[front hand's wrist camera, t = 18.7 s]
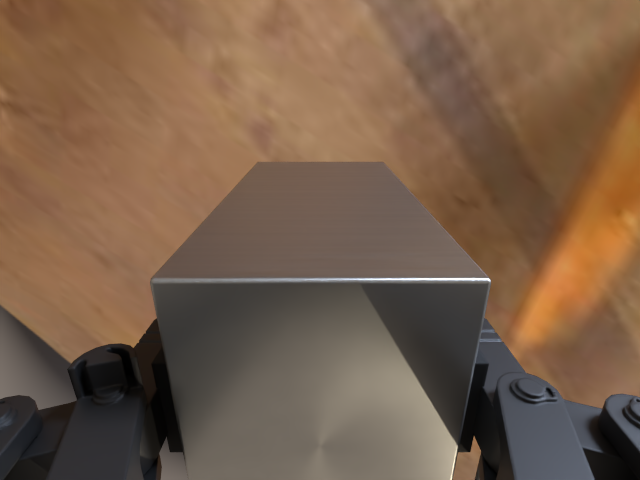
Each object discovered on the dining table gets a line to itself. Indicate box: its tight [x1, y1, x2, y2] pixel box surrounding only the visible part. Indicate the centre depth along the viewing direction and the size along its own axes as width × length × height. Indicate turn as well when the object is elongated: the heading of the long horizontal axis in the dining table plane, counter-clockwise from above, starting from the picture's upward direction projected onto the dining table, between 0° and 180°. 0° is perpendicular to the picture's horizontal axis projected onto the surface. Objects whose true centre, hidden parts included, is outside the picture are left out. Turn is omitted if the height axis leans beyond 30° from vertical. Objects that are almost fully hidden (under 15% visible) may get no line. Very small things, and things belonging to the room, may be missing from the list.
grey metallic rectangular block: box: [150, 162, 491, 480], centre depth 13 cm, size 6×8×12 cm
